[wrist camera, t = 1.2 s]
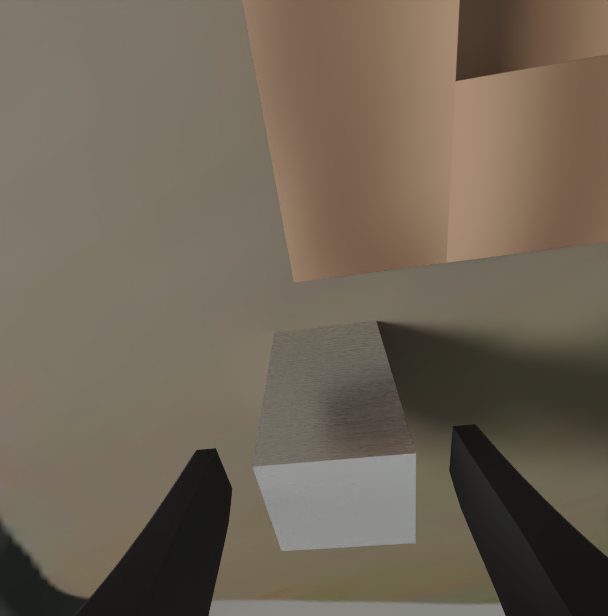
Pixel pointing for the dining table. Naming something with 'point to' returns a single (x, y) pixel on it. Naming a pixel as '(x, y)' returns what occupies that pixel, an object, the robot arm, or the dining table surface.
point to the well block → (432, 128)
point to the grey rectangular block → (335, 442)
